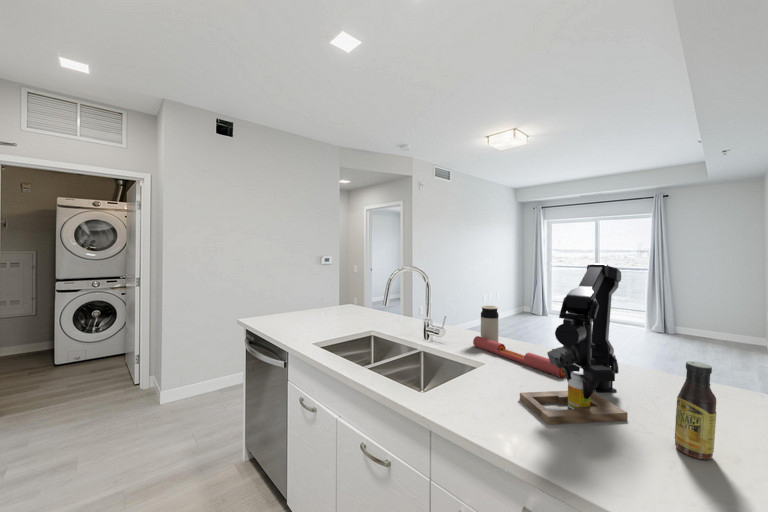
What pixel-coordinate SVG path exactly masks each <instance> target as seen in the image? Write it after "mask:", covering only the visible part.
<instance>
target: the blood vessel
mask: <svg viewBox="0 0 768 512" xmlns="http://www.w3.org/2000/svg"><path fill="white" fill-rule="evenodd" d="M472 344H473V346H474V347H475V346H476V347H475V348H478V347H479V348H478V349H481V350H483V349H484V351H486V350H487V352H489V351H490V353H492V354H494V353H495V354H494V355H497V354H498V356H500V355H501V357H503V358H505V357H506V359H508V358H509V360H512V361H514V362H516V361H517V363H520V364H522V365H525V366H527V365H528V367H531V368H534V369H536V370H538V369H539V371H542V372H544V373H547V374H549V373H550V375H553V376H555V377H558V378H560V377H561V379H563V378H564V377H565V378H566V375H565V372H564V370H563V368H558V367H556V366H555V365H553V364H551V363H550V360H549V357H548V358H547V357H544V356H541V355H539V354H536V353H532V352H525V354H521V353H517V352H514V351H512V350H509V349H506V346H505V344H504V343H500V342H499V341H498V342H495V341H492V340H489V339H486V338H482V337H481V336H479V335H476V336H475V337H474V338H473V340H472Z"/></svg>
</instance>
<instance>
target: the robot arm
mask: <svg viewBox="0 0 768 512" xmlns="http://www.w3.org/2000/svg"><path fill="white" fill-rule="evenodd" d="M621 281H622V271H621V270H620V269H619V268H617V267H614V266H610V265H609V264H605V263H592V262H591V263H587V266H586V272H585V273H584V276H583V278H582V279H581V281H580V282H579V285H578V286H577V287H576V288H572V289H570V291H568V292H567V294H566V296H565V297H563V300H562V304H561V309H560V312H559V316H558V317H559V319H563V320H562V324H559V325H558V326H557V327H556V329H555V331H554V335H555V339H556V340H557V341H558V343H559V344H561V345H562V346H560V347H556V348H552V349H551V350H549V351H547V356H548V359H549V360H550V363H551V364H553V365H555V366H556V367H558V368H563V370H564V372H565V375H566V376H565V378H566V381H567V382H568V381H569V380H570V379H572V378H571V372H573V371H578V372H580V369H582V373H583V374H579V375H578V376H579V377H580V378H581V379H582V380H583V393H584V398H585V399H589V397H590V396H591V394H592V393H594V391H595V392H597V393H612V392H613V393H614V392H617V391H618V390H617V389H616V388H614V387H613V386H614V385H613V383H614V382H615V381H616V374H619V364H618V359H617V357H616V354H614V352H615V350H614V346H612V344H611V342H610V340H609V337H610V336H609V334H610V323H611V322H610V321H611V309H612V296H613V294H614V293H615V292H616V291H617V290H618V289H619V284H620V282H621Z"/></svg>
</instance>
